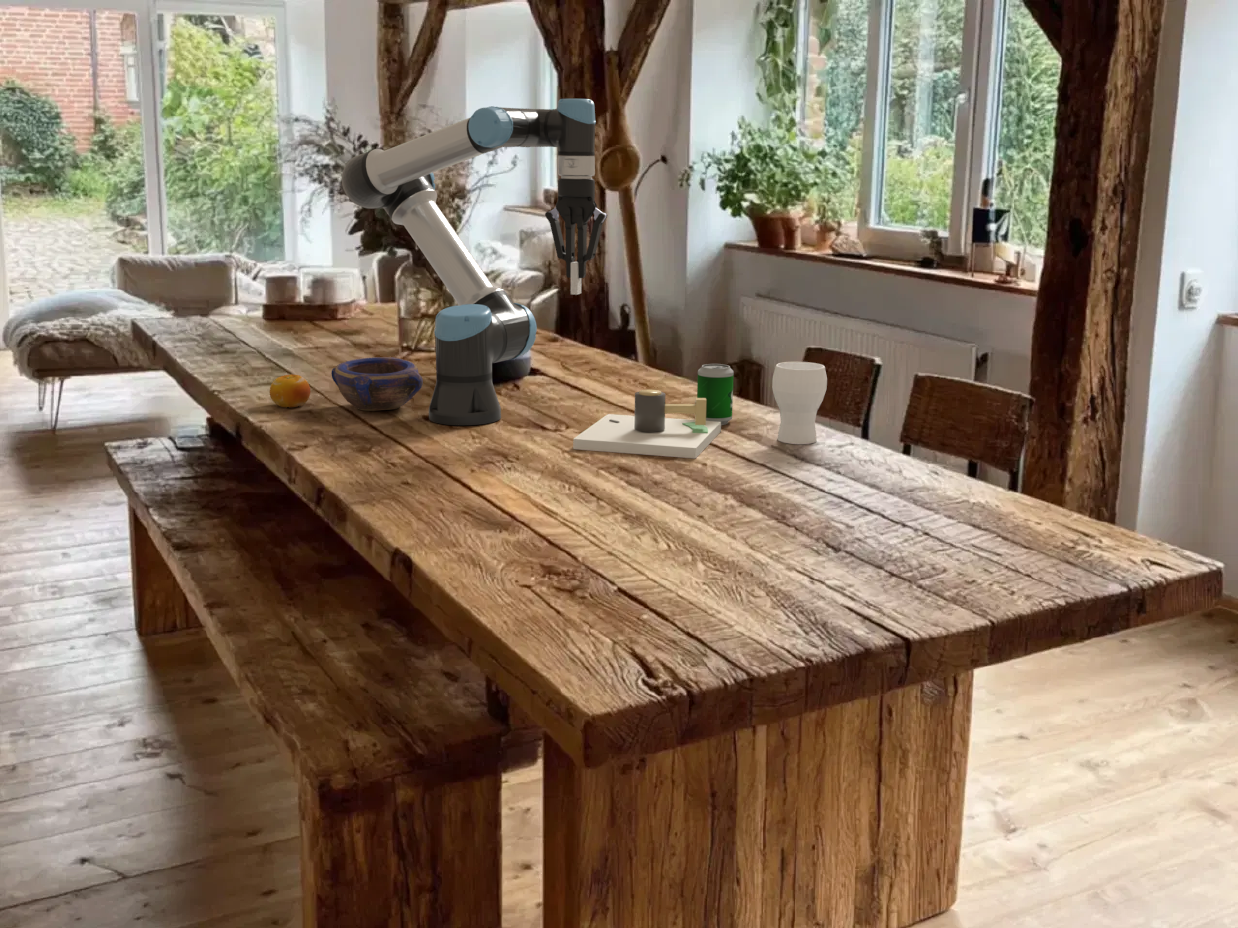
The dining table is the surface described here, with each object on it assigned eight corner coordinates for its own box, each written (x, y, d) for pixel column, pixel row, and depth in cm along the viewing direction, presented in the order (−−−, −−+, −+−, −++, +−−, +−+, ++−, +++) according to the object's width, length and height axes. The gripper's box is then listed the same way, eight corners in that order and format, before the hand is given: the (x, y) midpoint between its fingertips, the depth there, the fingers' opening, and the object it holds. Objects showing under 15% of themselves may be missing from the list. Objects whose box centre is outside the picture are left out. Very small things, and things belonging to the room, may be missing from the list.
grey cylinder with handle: (635, 431, 250) (635, 394, 248) (633, 425, 256) (634, 388, 254) (706, 432, 251) (707, 395, 249) (703, 425, 256) (704, 389, 255)
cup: (828, 436, 258) (832, 363, 254) (818, 448, 248) (822, 372, 245) (776, 432, 261) (779, 359, 258) (764, 443, 252) (767, 368, 248)
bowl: (349, 419, 269) (347, 372, 266) (326, 404, 284) (324, 359, 282) (431, 412, 277) (429, 366, 274) (404, 397, 292) (403, 354, 290)
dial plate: (573, 449, 246) (573, 437, 245) (607, 423, 268) (607, 412, 267) (695, 458, 239) (696, 446, 239) (720, 431, 262) (721, 420, 261)
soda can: (729, 427, 266) (731, 370, 263) (693, 425, 267) (695, 368, 264) (734, 419, 273) (735, 364, 270) (698, 417, 274) (700, 362, 271)
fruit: (255, 391, 279) (276, 361, 278) (279, 399, 287) (298, 369, 286) (281, 413, 276) (301, 382, 275) (303, 420, 284) (323, 390, 283)
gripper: (539, 177, 259) (540, 294, 265) (601, 178, 255) (601, 297, 261) (551, 176, 266) (551, 290, 272) (612, 177, 262) (611, 293, 268)
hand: (576, 293), depth 266 cm, fingers closed
